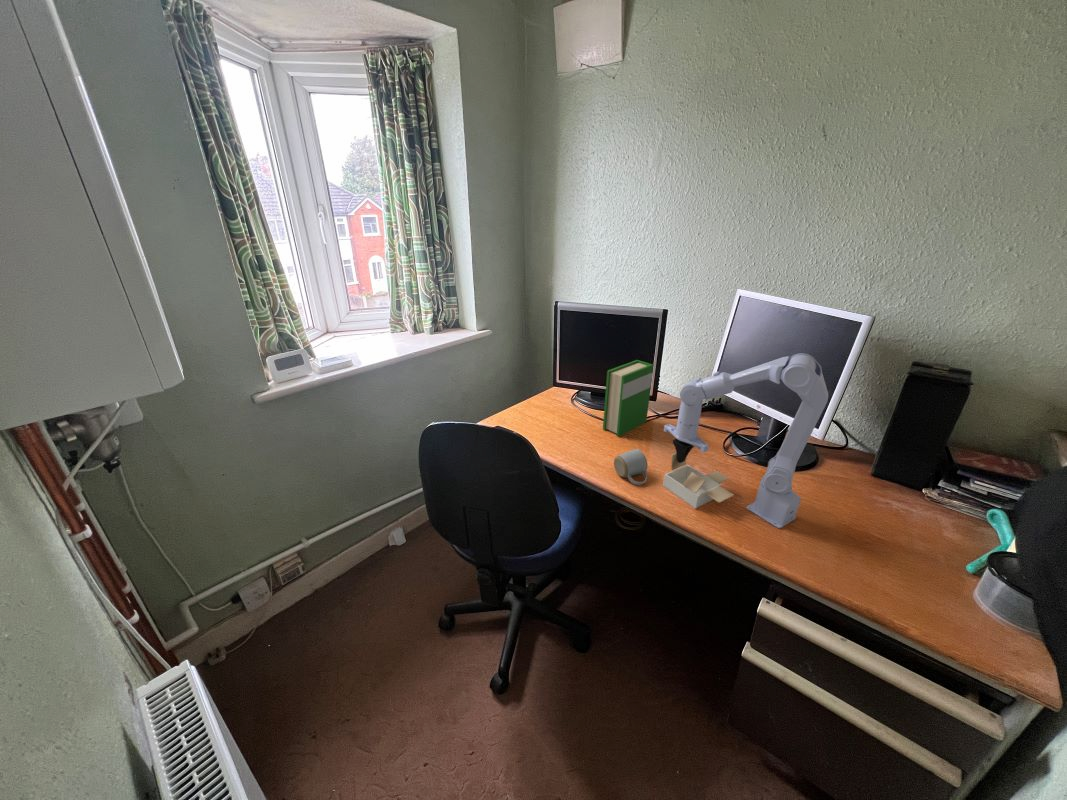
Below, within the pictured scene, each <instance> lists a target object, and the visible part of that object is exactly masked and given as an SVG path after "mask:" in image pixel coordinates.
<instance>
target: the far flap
mask: <svg viewBox="0 0 1067 800" xmlns="http://www.w3.org/2000/svg"><path fill="white" fill-rule="evenodd" d="M686 465H687V458H686V459H685V461H684V462H682V463H679V462H678V460H677V453H676V452H675V453H672V454H671V471H674V470H676V469H678V468H681V467H683V466H686Z"/></svg>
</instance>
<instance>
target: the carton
mask: <svg viewBox="0 0 1067 800" xmlns="http://www.w3.org/2000/svg"><path fill="white" fill-rule="evenodd" d="M691 472H693V473H695V474H696V475H698V476H699V477H701V478H703V479H704V480H706V481H705V482H704V483H703V485H702V486H701V487H700V489H699V490H698V491H697V493H694V492H693V491H691V490H690V489H688V488H687V487H685V486H684V485H682V484H683V483H684V482H685V480H686V479H687V478H688V476H689V475H690V474H691ZM728 480H730V478H729V477H728V476H726V475H724V474H723V473H721V472H719V471H718V470H714V471H712V472H709V473H707V474H704V473H703V472H701V471H700V470H698V469H696V468H694V467H693V466H691V465H689V464H686V465H684V466H681V467H679V468H677V469H674V470H671V471H669V472H666V473H665V474H664V477H663V483H662V487H664V488H665V489H667V490H668V491H669V492H671V493H672V494H674V495H675V496H676V497H678V498H679V499H681V500H682V501H684V502H685V503H687V504H688V505H690V506H691V507H692V508H694V509H695V510H696V509H698V508H700V507H702V506H704V505H706V504H708V503H710V502H712V501H714V500H715V502H717V503H719V504H720V503H722V502H724V501H726V500H728V499H730V498H731V497H733V496H734V494H733V493H732V492H730V491H728V490H726V489H725V488H723V485H722V483H723V482H726V481H728Z"/></svg>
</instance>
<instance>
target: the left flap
mask: <svg viewBox="0 0 1067 800" xmlns="http://www.w3.org/2000/svg"><path fill="white" fill-rule="evenodd" d="M705 481H706V480H704V479H703V478H701V477H699V476H698V475H696V474H695V473H693V472H691V474H690V475H689V476H688V478H687V479H686V480H685V482H684V483H683V484H682V485H684V486H685V487H687V488H688V489H690V490H691V491H693V492H694V493H697V491H698V490H699V489H700V487H701V486H702V485H703V483H704V482H705Z"/></svg>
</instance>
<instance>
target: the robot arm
mask: <svg viewBox="0 0 1067 800" xmlns="http://www.w3.org/2000/svg"><path fill="white" fill-rule="evenodd" d="M824 378H825V377H824V375H823V369H822V366H821V365H820V363H819V362H818V361H817V360H816V358H814V357H813V356H812V355H810V354H808V353H805V352H804V353H803V352H801V353H796V354H793V355H792V356H789V355H788V356H787V355H786V356H783V357H779V358H776V359H774V360H771V361H768V362H765V363H760V364H759V365H756V366H753V367H750V368H747V369H744V370H741V371H739V372H735V373H733V374H732V373H728V372H725V371H724V372H720V371H719V370H718V371H715V372H714V373H713V374H712V375H710V376H707V377H704V378H701V377H698V378H697V377H696V379H691V380H690V381H689V382H688V381H687V383H686V384H685V385H684V386H683V387H682V388H681V390H680V392H679V398H680V405H679V409H678V410H679V411H678V417H677V422H676V425H672V424H670V423H667V424H665V425H664V426H663V432H665V433H669V434H672V436H674V438H675V439H672V444H673V447H674V449H675V453H677V460H678V462H679V463H682V462H684V461H685V459H686V460H687V457H688V455H689V454H690V452H691V451H692V449H693V448H697V449H699V450H700V452H702V453H706V452H708V451H709V446H710V444H708V443H706V442H705V441H704V440H703V439H702V438H700V436H699V435H698V430H699V423H700V419H701V413H702V406H703V401H704V400H710V399H713V398H717V397H721V396H724V395H727V394H728V395H729V394H732V393H733V391H734V389H735V388H736V387H740V386H744V385H749V384H753V383H758V382H761V381H766V380H769V381H770V382H772V383H775V384H777V385H780V384H781V381H782V382H783V384H784V385H785V387H787V388H788V389H790V390H791V391H793V392H794V393H796V394H797V395H798V397H799V398H800V399H801V403H800V405H799V407H798V410H797V411H796V413H795V416H794V417H793V420H792V422H791V424H790V427H789V429H788V431H787V433H786V435H785V437H784V439H783V442H782V444H781V446H780V448H779V450H778V451H777V452H776V455H775V456H774V457H772V458H770V459H769V461H768V462H767V468H766V471H765V474H764V476H762V478H760V479H761V480H760V483H759V486H758V490H757V493H756V496H755V500H754V502H752V503H751V504H749V505H747V506H746V509H747V510H748V511H750V512H751V513H753V514H754V515H756V516H758V517H760V518H761V519H762V520H764V521H766V522H767V523H769V524H771V525H772V526H774V527H775V528H777V529H782V528H783V527H784V526H787V525H788V524H789V523H791V522H792V521H794V520H796V519H797V516H796V515H797V513H798V509H799V506H800V504H801V501H802V500H801V499H802V498H801V497H800V496H799V495H798V494H796V493H795V491H794V490H793V483H792V482H793V478H794V473H795V471H796V467H797V463H798V461H799V460H800V458H801V455H802V453H803V451H804V450H805V447H806V446H807V443H808V441H809V440H810V437H811V435H812V433H813V431H814V429H815V428H816V426H817V424H818V421H819V420H820V417H821V416H822V414H823V411H824V410H825V407H826V405H827V404H828V401H829V391H828V389H827V384H826V381H825V379H824Z"/></svg>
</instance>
